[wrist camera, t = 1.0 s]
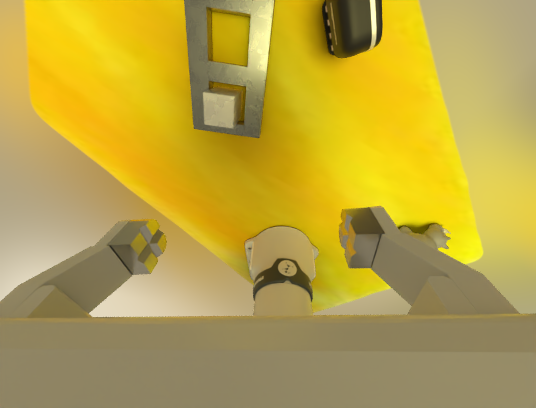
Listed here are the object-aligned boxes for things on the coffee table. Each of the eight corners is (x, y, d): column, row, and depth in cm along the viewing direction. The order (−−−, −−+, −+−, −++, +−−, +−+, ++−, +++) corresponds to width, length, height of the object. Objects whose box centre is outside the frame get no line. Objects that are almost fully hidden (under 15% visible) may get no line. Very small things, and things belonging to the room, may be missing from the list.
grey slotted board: (260, 133, 37) (259, 138, 35) (198, 124, 36) (193, 128, 34) (285, -96, 23) (285, -113, 20) (184, -115, 22) (173, -134, 20)
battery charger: (314, 1, 27) (333, -32, 17) (344, -14, 26) (381, -57, 17) (324, 62, 30) (345, 62, 21) (351, 51, 30) (385, 46, 20)
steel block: (241, 116, 35) (233, 128, 29) (218, 112, 35) (204, 124, 28) (243, 89, 33) (234, 96, 26) (218, 86, 33) (203, 92, 26)
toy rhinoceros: (425, 230, 51) (463, 252, 44) (385, 254, 50) (417, 280, 43) (426, 208, 47) (469, 228, 40) (383, 233, 46) (419, 259, 39)
